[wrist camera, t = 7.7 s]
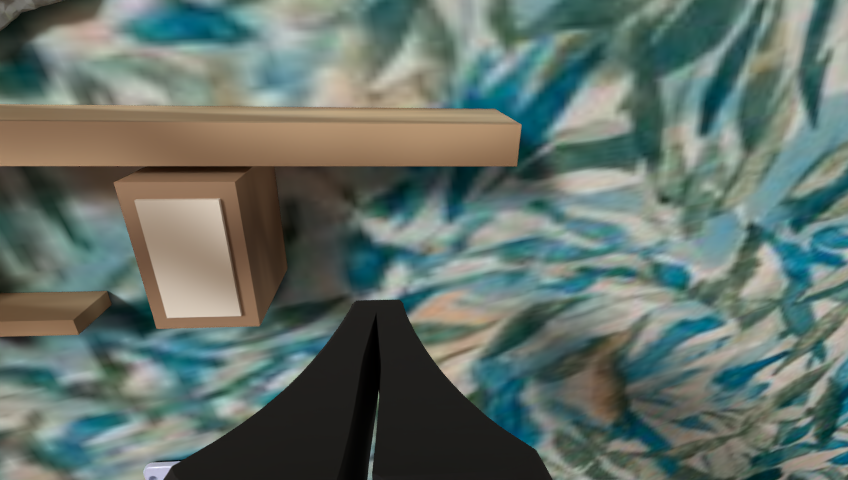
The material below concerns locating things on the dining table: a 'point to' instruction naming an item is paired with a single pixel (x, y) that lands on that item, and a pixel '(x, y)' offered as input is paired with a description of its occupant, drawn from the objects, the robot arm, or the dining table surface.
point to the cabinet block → (205, 242)
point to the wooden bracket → (229, 158)
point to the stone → (19, 9)
